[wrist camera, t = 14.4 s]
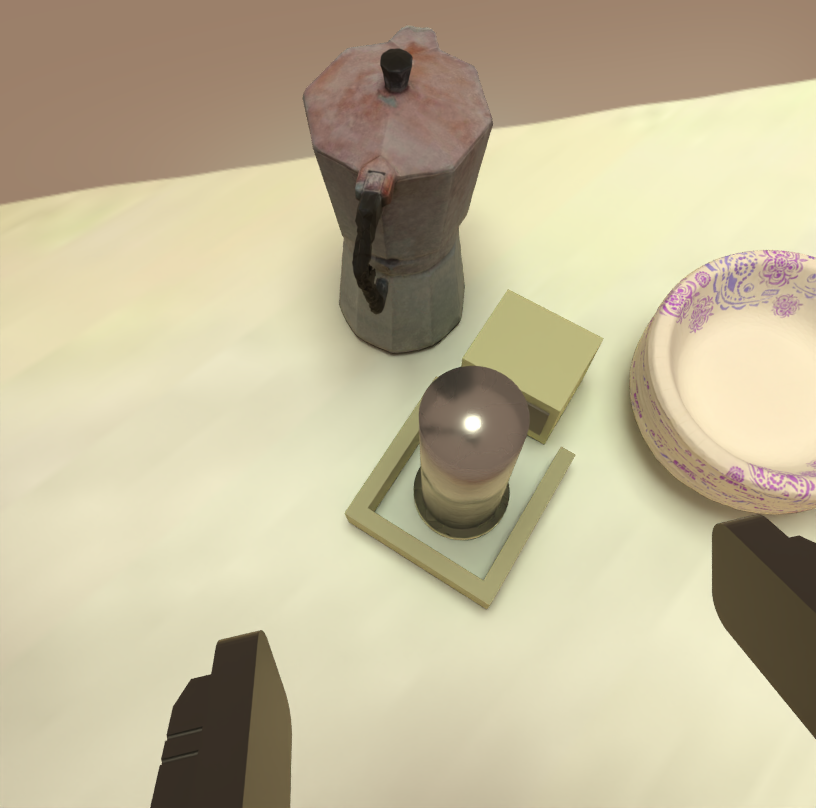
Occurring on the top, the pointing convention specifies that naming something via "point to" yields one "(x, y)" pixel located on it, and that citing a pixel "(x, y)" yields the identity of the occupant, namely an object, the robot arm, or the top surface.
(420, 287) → the moka pot
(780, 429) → the paper bowls
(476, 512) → the flanged base cylinder
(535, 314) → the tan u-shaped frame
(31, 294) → the top surface
